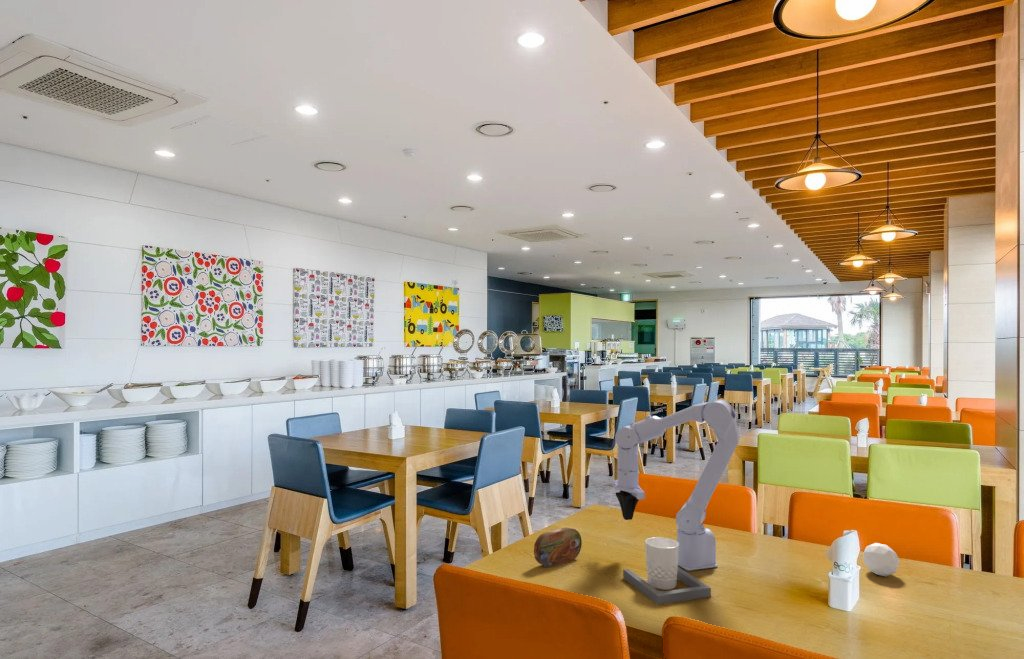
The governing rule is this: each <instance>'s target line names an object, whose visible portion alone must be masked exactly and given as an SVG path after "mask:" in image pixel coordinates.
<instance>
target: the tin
mask: <svg viewBox="0 0 1024 659" xmlns="http://www.w3.org/2000/svg"><path fill="white" fill-rule="evenodd" d="M582 540H583V539H582V536H581V534H580V532H579V531H578V530H577V529H576V528H570V527H562V528H557V529H555V530H551V531H547V532H543V533H542V534H540V535H539V536H538V537H537V538H536V540H535V542H534V546H533V554H534V559H535V561H537V563H538V564H540V565H542V566H544V567H546V568H553V567H556V566H560V565H562V564H565V563H568V562H571V561H574V560H575V559H577V557H578V556H579V555H580V553H581V551H582V545H583V542H582Z"/></svg>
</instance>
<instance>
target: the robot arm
mask: <svg viewBox="0 0 1024 659" xmlns="http://www.w3.org/2000/svg"><path fill="white" fill-rule="evenodd" d="M691 421H694V422H698V423H703V422H706V424H707V425H708V426H709V427H710V429H712V430H713V433H714V435H715V437H716V439H717V442H716V445H715V447H714V448H713V451H712V452H711V455H710V457H709V459H708V461H707V463H706V465H705V467H704V468H703V470H702V473H701V475H700V476H699V479H698V481H697V483H696V485H695V487H694V489H693V491H692V492H691V494H690V496H689V498H688V500H687V501H686V502H684V504H683V505H682V507H681V509H680V510H678V512H677V513H676V516H675V523H676V526H677V527H676V541H677V542H678V543H679V552H678V567H679V568H681V569H683V570H684V571H685V570H686V572H687V571H688V572H690V571H697V570H703V569H710V568H718V566H719V564H717V557H716V556H717V554H716V552H717V545H716V544H717V542H716V537H715V535H714V533H713V531H712V530H711V529H710V528H708V527H705V526H704V524H703V522H704V521H705V519H706V515H707V512H706V511H707V510H706V509H707V506H708V505H709V502H710V500H711V498H712V496H713V494H714V492H715V490H716V488H717V486H718V484H719V482H720V480H721V478H722V476H723V474H724V472H725V470H726V468H727V467H728V464H729V463H730V461H731V458H733V457H732V456H733V454H734V452H735V451H736V448H737V446H738V445H739V442H740V435H739V430H738V423H737V413H736V412H735V410H734V409H733V407H732V405H731V404H730V403H729V401H727V400H725V399H721V398H720V399H719V398H718V399H714V400H712V401H711V402H710V401H707V402H701V403H697V404H694V405H693V404H692V405H691V406H689V407H687V408H684V409H682V410H679V411H676V412H674V413H672V414H669V415H667V416H664V417H659V416H657V415H651V414H649V415H647V416H645V417H644V419H642V420H640V421H636V422H635V421H631V422H629V425H626V426H622V427H621V428H619V429H618V430H617V431H616V433H615V435H614V440H615V443H616V444H617V453H616V454H617V456H616V457H617V458H616V459H617V465H616V466H617V478H616V479H612V482H611V484H612V486H611V487H612V488H613V489H614V490H617V491H618V492H615V496H616V498H617V500H618V503H619V505H620V506H619V507H620V509H621V514H622V518H623V520H626V521H630V520H633V518H634V515H635V511H636V508H637V505H638V502H639V500H645V499H646V492H645V491H644V490H643V489H642V488H641V487H640V485H639V443H640V444H643V443H646V442H648V441H652V440H654V439H655V440H656V439H657V438H660V437H663V436H664V435H665V432H666V430H667V429H670V428H673V427H676V426H678V425H682V424H685V423H688V422H691Z"/></svg>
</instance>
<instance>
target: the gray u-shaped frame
mask: <svg viewBox="0 0 1024 659" xmlns="http://www.w3.org/2000/svg"><path fill="white" fill-rule="evenodd" d="M622 571H623V572H622V573H623V574H622V578H623V579H625V580H626V581H627V582H628V583H629V584H630V585H632V586H633V587H634V588H635V589H637V590H638V591H639V592H641V593H642V594H643V595H644V596H646V597H647V598H649V600H651V601H652V602H653V603H655V604H656V605H657V606H659V605H666V604H665V603H667V604H671V603H670V602H673V603H679V602H678V601H680V602H685V601H691V600H698V599H704V598H711V597H712V588H711V587H710V586H709V585H707V584H705V582H702V581H701V580H699V579H698V578H696V577H695V576H693V575H691V574H690V573H689V572H687V571H685V569H683V568H681V567H680V566H678V571H677V580H678V581H680V582H681V583H683V584H684V585H686V586H687V587H685V588H679V589H670V590H666V591H659V589H657V588H654V587H652V586H651V585H650V584H648V581H646V580H644V579H643V578H642V577H640V576H639V575H637V574H636V573H635V572H634V571H632V570H631V569H629V568H627V569H626V568H625V569H623V570H622Z"/></svg>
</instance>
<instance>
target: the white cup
mask: <svg viewBox="0 0 1024 659" xmlns="http://www.w3.org/2000/svg"><path fill="white" fill-rule="evenodd" d="M644 543H645V544H644V545H645V565H646V572H647V583H648V584H650V585H651V586H652V587H654V588H655V589H656V590H662V591H663V590H666V591H670V590H674V589H675V588H676V587H677V580H678V579H677V571H678V567H679V565H678V552H679V543H678V542H677V540H675V539H672V538H669V537H662V536H655V537H654V536H653V537H649V538H646V539H645V541H644Z"/></svg>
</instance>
